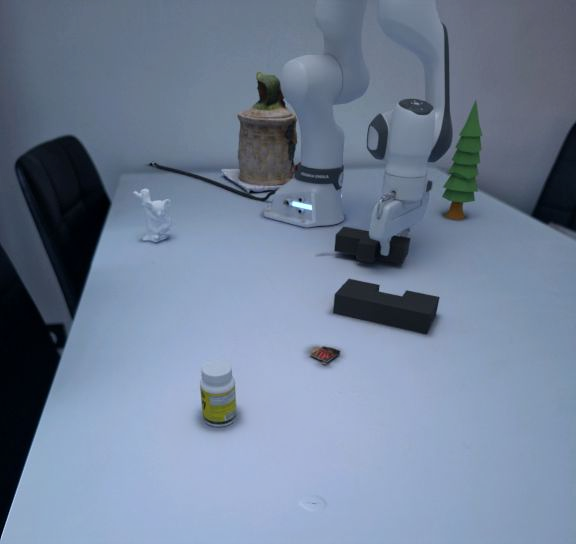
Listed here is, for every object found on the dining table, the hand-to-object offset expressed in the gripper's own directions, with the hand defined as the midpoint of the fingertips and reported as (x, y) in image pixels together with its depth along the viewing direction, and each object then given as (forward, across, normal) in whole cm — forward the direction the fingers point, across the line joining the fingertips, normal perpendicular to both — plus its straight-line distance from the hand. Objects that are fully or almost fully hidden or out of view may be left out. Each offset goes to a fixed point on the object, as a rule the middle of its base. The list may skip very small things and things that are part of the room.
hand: (393, 249), depth 121 cm
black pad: (+2, -3, +5) cm, 6 cm away
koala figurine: (+4, -25, +52) cm, 58 cm away
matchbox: (+3, -44, -10) cm, 45 cm away
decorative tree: (+4, +44, +3) cm, 44 cm away
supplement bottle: (+3, -67, -8) cm, 67 cm away
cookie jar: (+5, +37, +67) cm, 76 cm away
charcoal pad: (+3, -24, -11) cm, 27 cm away
